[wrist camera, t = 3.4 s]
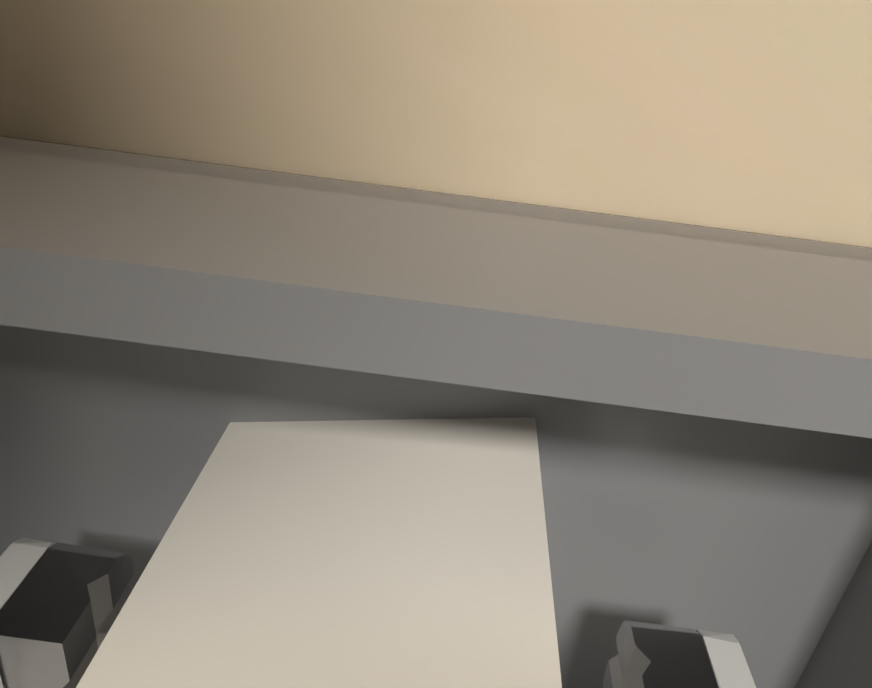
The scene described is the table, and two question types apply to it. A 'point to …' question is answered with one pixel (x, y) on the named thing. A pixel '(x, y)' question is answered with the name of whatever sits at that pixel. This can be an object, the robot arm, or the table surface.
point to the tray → (456, 380)
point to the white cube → (349, 564)
